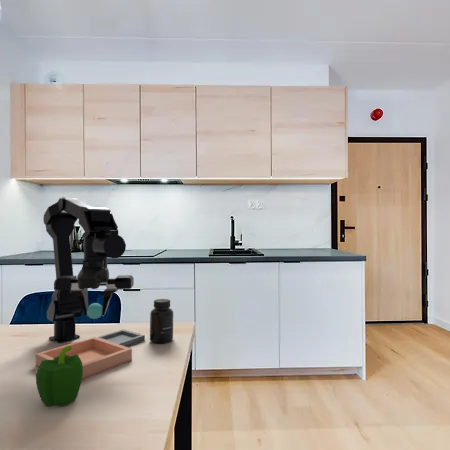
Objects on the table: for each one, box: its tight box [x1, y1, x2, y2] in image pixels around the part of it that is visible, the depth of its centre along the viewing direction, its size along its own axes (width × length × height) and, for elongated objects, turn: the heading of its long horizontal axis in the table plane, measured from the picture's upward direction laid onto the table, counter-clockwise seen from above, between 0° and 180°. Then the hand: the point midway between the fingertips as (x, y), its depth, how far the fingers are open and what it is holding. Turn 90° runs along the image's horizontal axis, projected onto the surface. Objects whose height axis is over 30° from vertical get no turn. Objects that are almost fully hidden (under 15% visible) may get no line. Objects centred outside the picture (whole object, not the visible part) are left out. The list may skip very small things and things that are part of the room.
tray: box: [96, 329, 146, 348], centre depth 100 cm, size 10×10×2 cm
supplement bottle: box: [149, 298, 174, 345], centre depth 101 cm, size 7×7×12 cm
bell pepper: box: [35, 346, 83, 407], centre depth 66 cm, size 8×8×10 cm
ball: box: [87, 302, 103, 320], centre depth 88 cm, size 4×4×4 cm
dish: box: [35, 336, 133, 381], centre depth 84 cm, size 16×16×3 cm
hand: (95, 315), depth 88 cm, fingers closed on ball, 4 cm apart
